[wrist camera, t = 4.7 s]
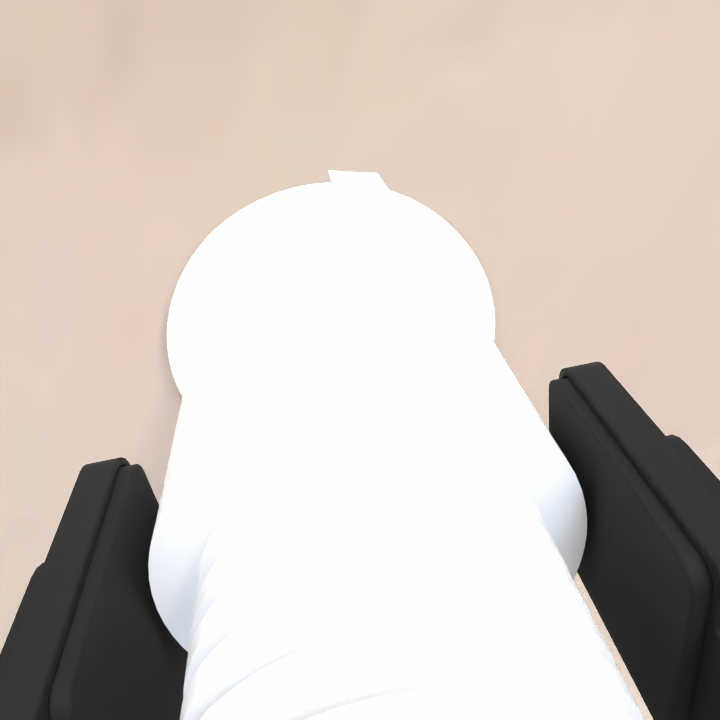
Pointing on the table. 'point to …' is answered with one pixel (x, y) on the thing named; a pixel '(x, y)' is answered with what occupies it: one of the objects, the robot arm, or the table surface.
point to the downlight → (364, 482)
